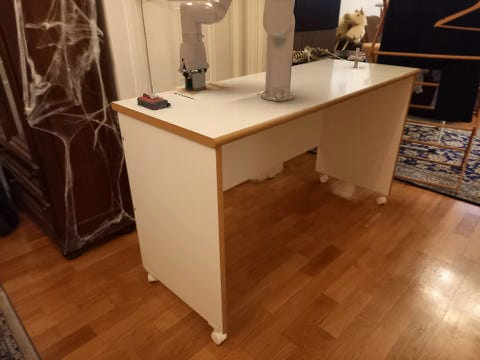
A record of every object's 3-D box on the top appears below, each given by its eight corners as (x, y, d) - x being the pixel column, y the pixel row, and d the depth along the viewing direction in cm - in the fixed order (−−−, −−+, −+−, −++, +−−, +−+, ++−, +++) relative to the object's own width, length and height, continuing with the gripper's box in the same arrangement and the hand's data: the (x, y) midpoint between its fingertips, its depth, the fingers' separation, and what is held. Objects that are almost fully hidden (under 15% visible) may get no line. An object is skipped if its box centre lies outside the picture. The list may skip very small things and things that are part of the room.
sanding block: (195, 87, 145) (194, 70, 142) (205, 89, 140) (205, 73, 137) (185, 89, 142) (184, 72, 139) (196, 92, 137) (194, 75, 134)
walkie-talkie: (176, 107, 125) (147, 97, 138) (175, 95, 123) (146, 86, 136) (155, 112, 120) (126, 101, 133) (153, 99, 118) (125, 89, 131)
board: (215, 85, 155) (215, 81, 154) (234, 89, 147) (234, 85, 147) (174, 93, 142) (173, 89, 141) (192, 98, 134) (191, 94, 133)
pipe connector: (342, 67, 192) (344, 47, 188) (358, 65, 195) (360, 46, 190) (352, 70, 184) (355, 49, 179) (369, 68, 186) (372, 49, 182)
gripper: (203, 36, 140) (205, 82, 148) (167, 39, 129) (172, 89, 138) (215, 37, 135) (217, 85, 144) (179, 41, 125) (183, 92, 133)
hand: (195, 86), depth 141 cm, fingers closed on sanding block, 5 cm apart
